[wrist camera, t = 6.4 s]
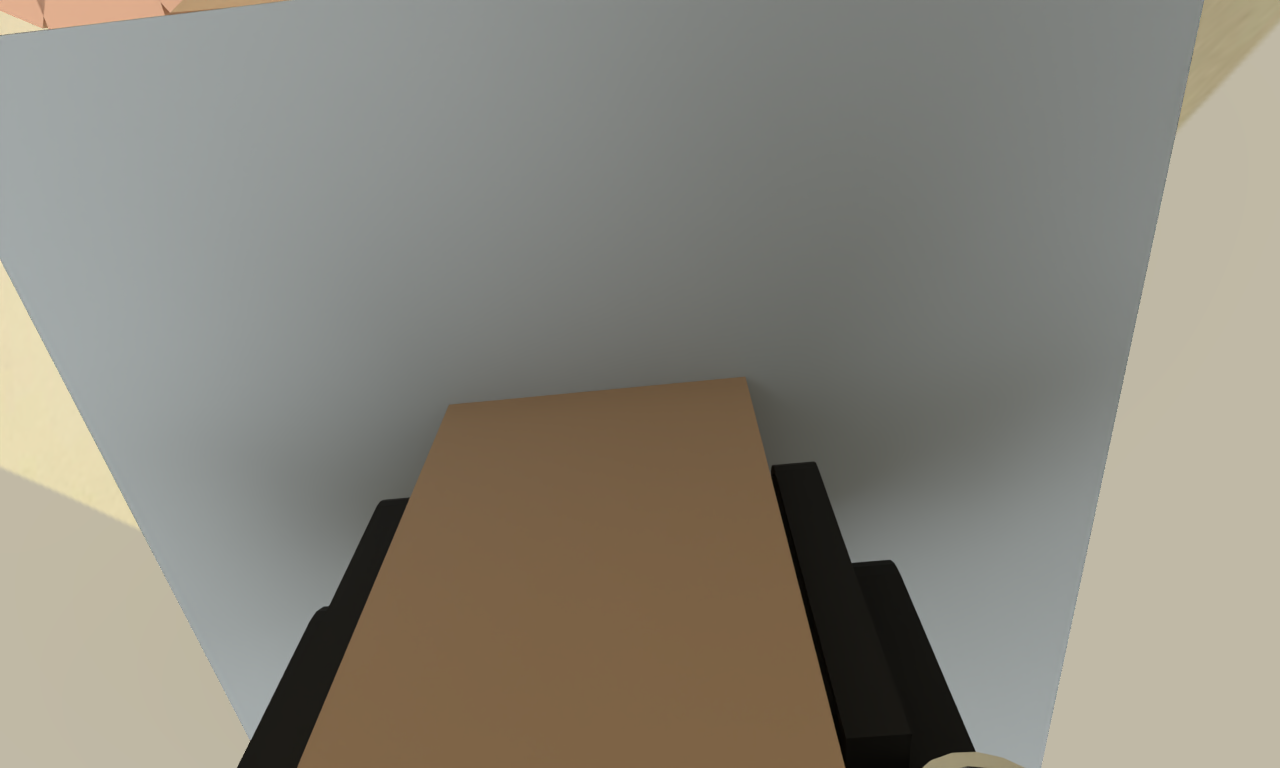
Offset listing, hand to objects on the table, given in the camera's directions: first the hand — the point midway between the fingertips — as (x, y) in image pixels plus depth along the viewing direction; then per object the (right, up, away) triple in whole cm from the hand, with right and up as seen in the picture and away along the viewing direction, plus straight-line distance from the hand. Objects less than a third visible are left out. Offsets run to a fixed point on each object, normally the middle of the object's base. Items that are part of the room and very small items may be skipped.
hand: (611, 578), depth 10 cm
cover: (0, +1, +2) cm, 3 cm away
